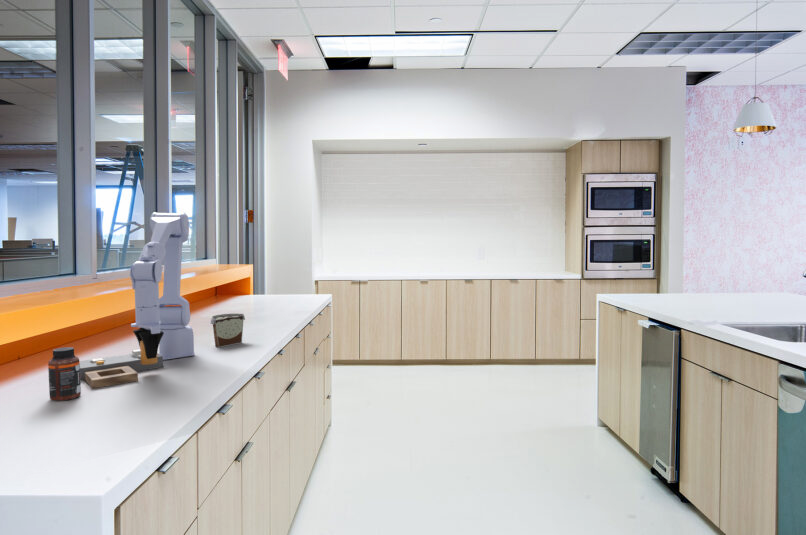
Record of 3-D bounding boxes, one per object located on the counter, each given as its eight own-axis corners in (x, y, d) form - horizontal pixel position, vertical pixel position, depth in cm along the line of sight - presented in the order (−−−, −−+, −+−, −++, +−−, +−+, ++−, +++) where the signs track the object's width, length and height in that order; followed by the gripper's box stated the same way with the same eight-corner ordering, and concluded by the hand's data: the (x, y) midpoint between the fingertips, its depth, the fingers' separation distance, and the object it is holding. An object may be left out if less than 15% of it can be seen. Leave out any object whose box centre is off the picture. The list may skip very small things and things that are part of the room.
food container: (234, 340, 179) (234, 312, 178) (245, 342, 175) (244, 313, 175) (203, 346, 169) (202, 316, 168) (214, 348, 165) (213, 318, 165)
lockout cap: (155, 360, 137) (154, 338, 136) (159, 362, 134) (158, 340, 133) (139, 362, 134) (138, 340, 134) (143, 365, 131) (142, 342, 131)
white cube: (102, 367, 137) (101, 358, 137) (103, 368, 136) (103, 359, 135) (91, 368, 136) (91, 359, 136) (93, 370, 134) (93, 361, 134)
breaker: (141, 357, 144) (141, 349, 144) (144, 359, 142) (143, 350, 142) (132, 359, 142) (132, 350, 142) (134, 360, 140) (134, 351, 140)
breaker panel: (153, 360, 148) (153, 348, 148) (163, 366, 141) (162, 354, 141) (74, 373, 135) (73, 359, 135) (79, 380, 128) (79, 366, 128)
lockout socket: (128, 372, 135) (127, 365, 135) (138, 380, 128) (137, 372, 128) (84, 379, 129) (84, 372, 128) (92, 388, 121) (92, 380, 121)
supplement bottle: (87, 395, 116) (85, 347, 115) (62, 403, 110) (60, 352, 110) (68, 392, 118) (66, 345, 117) (43, 400, 112) (41, 350, 112)
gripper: (123, 304, 136) (125, 353, 137) (138, 310, 125) (139, 364, 126) (151, 302, 140) (153, 350, 141) (168, 308, 130) (169, 359, 130)
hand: (149, 356), depth 134 cm, fingers closed on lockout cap, 4 cm apart
